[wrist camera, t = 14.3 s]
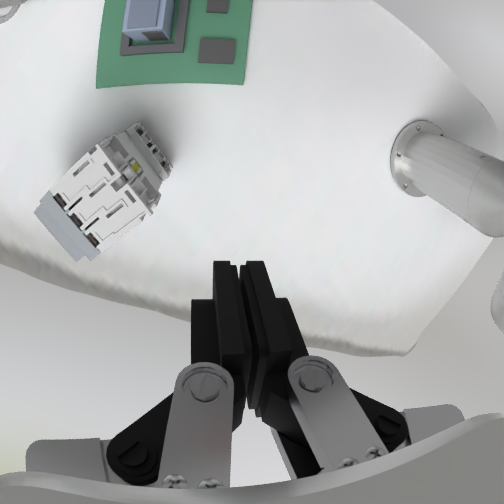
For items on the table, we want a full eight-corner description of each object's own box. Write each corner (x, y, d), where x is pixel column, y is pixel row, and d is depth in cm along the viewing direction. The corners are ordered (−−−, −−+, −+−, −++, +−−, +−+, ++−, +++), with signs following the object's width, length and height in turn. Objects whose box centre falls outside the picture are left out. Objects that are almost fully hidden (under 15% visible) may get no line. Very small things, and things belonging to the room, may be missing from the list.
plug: (175, 4, 24) (167, -16, 17) (170, 41, 26) (161, 28, 20) (142, 6, 23) (127, -12, 16) (137, 43, 25) (120, 32, 19)
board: (252, -12, 24) (256, -19, 22) (242, 85, 31) (244, 84, 29) (109, -8, 21) (103, -14, 19) (99, 88, 28) (91, 88, 26)
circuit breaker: (64, 186, 34) (9, 238, 21) (139, 121, 32) (99, 141, 19) (96, 225, 38) (56, 290, 25) (172, 166, 36) (154, 212, 23)
